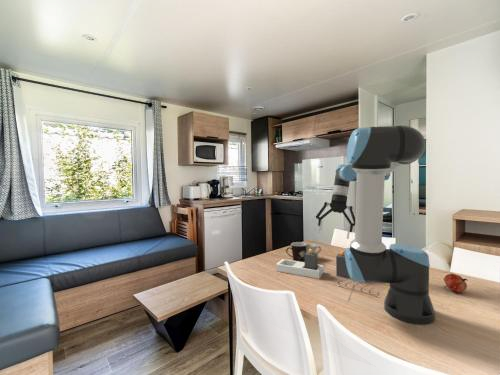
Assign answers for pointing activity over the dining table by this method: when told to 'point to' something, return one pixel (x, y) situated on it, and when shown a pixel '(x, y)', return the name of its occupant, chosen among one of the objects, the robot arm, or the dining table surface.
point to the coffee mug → (298, 251)
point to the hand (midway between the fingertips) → (333, 235)
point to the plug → (341, 265)
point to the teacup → (312, 246)
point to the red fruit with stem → (455, 283)
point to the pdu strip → (298, 268)
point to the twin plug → (311, 260)
